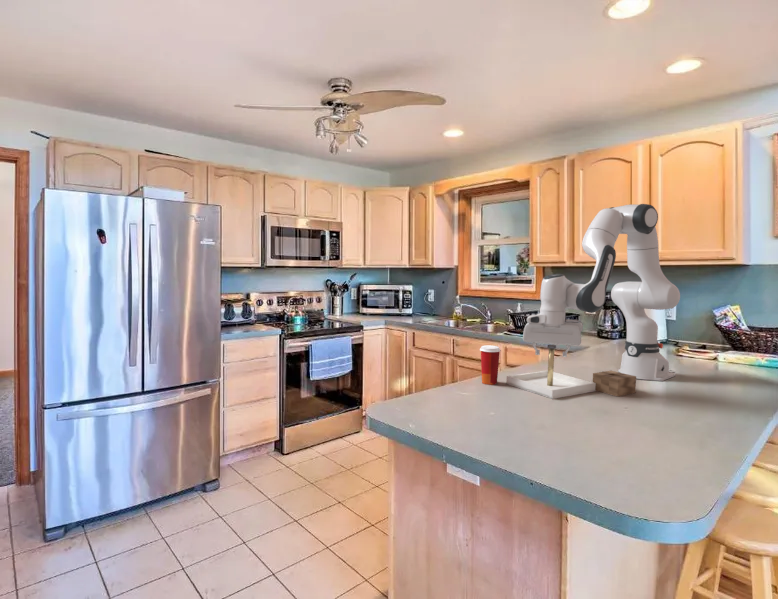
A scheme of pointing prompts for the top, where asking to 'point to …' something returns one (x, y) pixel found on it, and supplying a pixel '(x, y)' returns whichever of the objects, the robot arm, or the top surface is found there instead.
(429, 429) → the top surface
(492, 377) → the paper cup
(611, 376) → the walnut block
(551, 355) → the brass pin
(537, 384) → the off-white tray
